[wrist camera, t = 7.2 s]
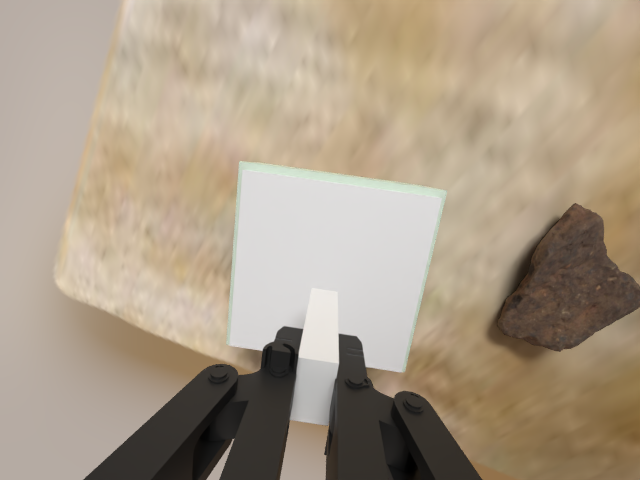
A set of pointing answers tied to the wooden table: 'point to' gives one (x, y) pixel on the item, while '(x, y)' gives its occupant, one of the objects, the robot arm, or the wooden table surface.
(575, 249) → the rock
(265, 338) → the scale
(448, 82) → the wooden table surface
